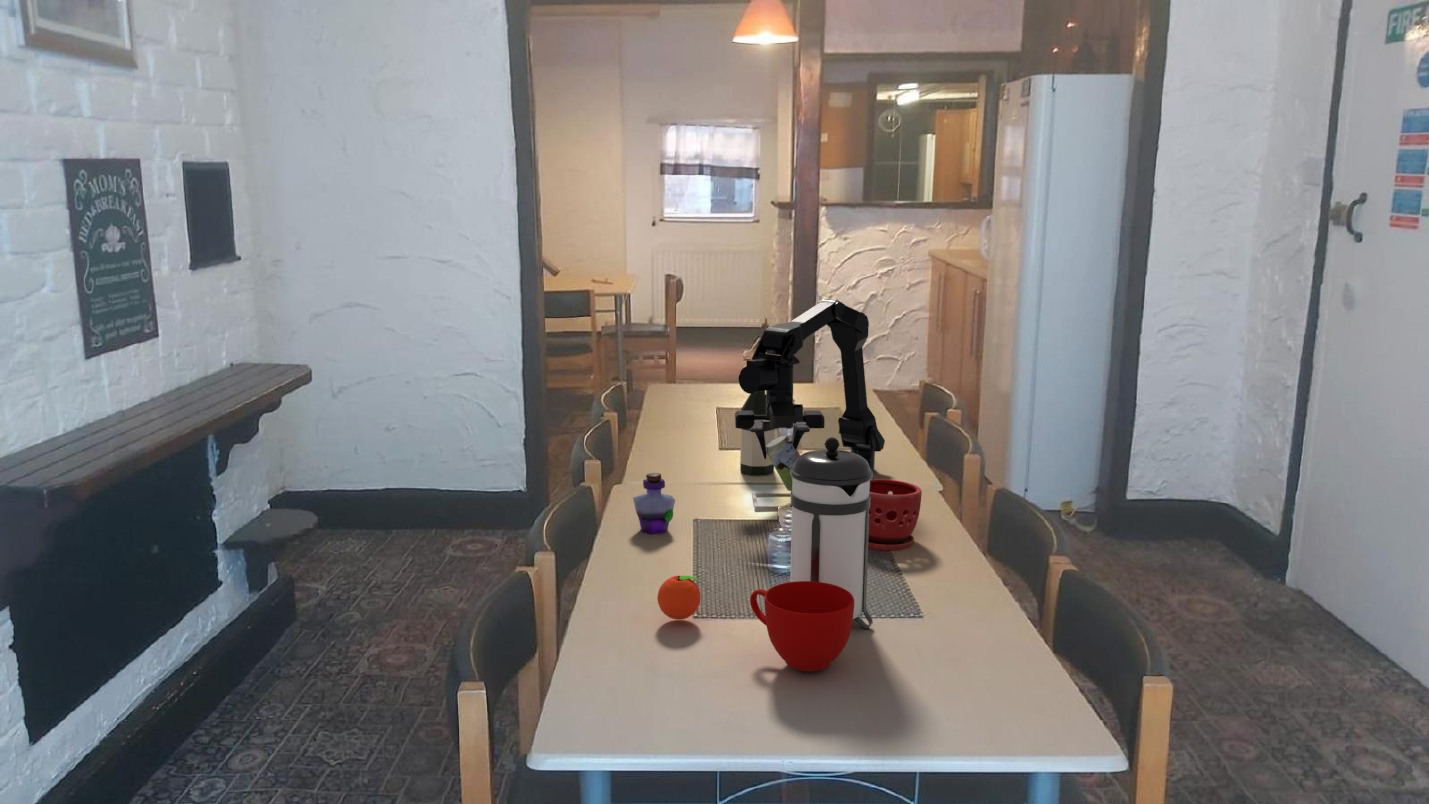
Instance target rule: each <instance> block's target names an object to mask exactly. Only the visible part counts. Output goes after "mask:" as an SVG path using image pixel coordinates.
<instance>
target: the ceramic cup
mask: <svg viewBox="0 0 1429 804" xmlns="http://www.w3.org/2000/svg"><path fill="white" fill-rule="evenodd" d="M758 595H760V596H762V597H763V598H764V612H762V610H761V608H760V606H759V604H758V600H757V599H758ZM749 598H750V599H749V603H750V606H751V609H752V610H751V611H752V612H753V614H754V615H755V617H756V618H757V619H758V621H760V622H761V623H763V624H764V625H765V627H766V630H767V633H768V637H769V641H770V642H771V644H772V646H773V648H774V649H775V652H776V653H777V654H778V655H779V656H780V658H781V659H782V660H783V661H784V662H785V664H786V665H787V666H788V667H790V668H791V669H795V670H798V671H803V672H817V671H821V670H825V669H827V668H828V667H830V665H831V664H832V663H833V662H834V661H835V660H836V659H837V658H838V657H839V656H840V655H841V653H842V652H843V650H844V649H845V647H846V645H847V643H848V641H849V638H850V634H851V630H852V625H853V621H854V620H853V613H854V598H853V596H852V594H851V593H850V592H848V591H847V590H845V589H843V588H841V587H839V586H836V585H832V584H828V583H822V582H814V581H796V582H790V581H788V582H784V583H779V584H777V585H776V584H775V585H774V586H772V587H770V588H769V589H768V590H765V589H763V588H758V589H755V590H754V591H753V592H752V593H751V594H750V597H749Z"/></svg>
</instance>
